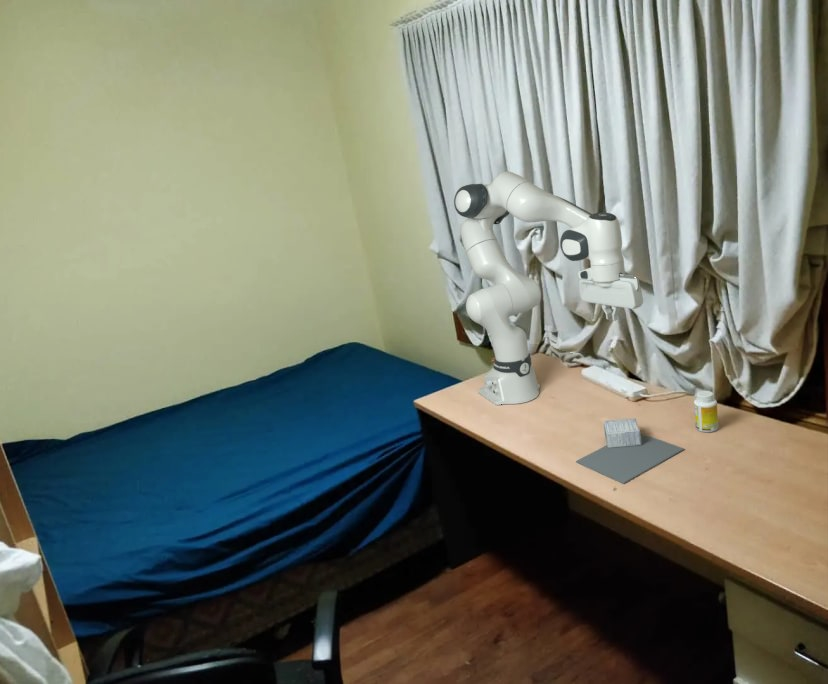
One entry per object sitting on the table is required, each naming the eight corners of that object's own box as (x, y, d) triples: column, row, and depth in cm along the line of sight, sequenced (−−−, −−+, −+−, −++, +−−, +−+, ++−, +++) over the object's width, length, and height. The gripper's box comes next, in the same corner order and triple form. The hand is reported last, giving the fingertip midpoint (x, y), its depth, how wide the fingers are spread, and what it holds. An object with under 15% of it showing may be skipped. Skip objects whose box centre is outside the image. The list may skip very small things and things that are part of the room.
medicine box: (607, 448, 168) (641, 445, 167) (606, 433, 167) (640, 430, 165) (604, 434, 176) (637, 432, 174) (603, 420, 175) (636, 417, 173)
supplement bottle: (723, 427, 168) (721, 392, 166) (709, 435, 166) (707, 399, 163) (704, 422, 173) (702, 387, 170) (690, 429, 171) (688, 394, 168)
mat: (576, 462, 165) (575, 461, 165) (634, 432, 175) (634, 430, 175) (623, 484, 152) (623, 482, 152) (684, 450, 161) (684, 448, 161)
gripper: (646, 271, 168) (650, 321, 172) (589, 267, 185) (594, 312, 189) (629, 277, 165) (633, 328, 169) (573, 272, 182) (578, 318, 186)
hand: (612, 319), depth 179 cm, fingers closed
